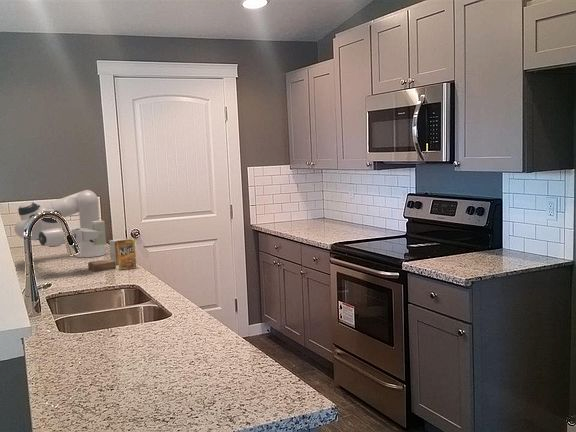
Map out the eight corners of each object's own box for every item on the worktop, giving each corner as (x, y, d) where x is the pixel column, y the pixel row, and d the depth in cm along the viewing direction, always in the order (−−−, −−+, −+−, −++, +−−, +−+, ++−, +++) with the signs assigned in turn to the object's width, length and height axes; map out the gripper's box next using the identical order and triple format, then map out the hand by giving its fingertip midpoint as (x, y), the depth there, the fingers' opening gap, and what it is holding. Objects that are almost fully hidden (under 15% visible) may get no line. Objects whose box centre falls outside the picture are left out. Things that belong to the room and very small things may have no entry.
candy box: (119, 270, 304) (116, 240, 302) (118, 268, 308) (116, 239, 306) (136, 268, 307) (134, 239, 305) (136, 266, 311) (134, 238, 309)
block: (93, 244, 308) (91, 221, 307) (103, 243, 311) (101, 220, 310) (96, 245, 304) (94, 222, 303) (106, 244, 307) (104, 221, 306)
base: (88, 269, 310) (87, 261, 309) (108, 266, 316) (108, 258, 316) (95, 271, 302) (94, 264, 302) (115, 268, 309) (115, 260, 308)
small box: (116, 265, 318) (114, 241, 317) (110, 263, 323) (108, 240, 321) (129, 262, 324) (128, 239, 322) (124, 261, 328) (122, 238, 327)
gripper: (68, 239, 308) (94, 235, 316) (80, 243, 292) (108, 239, 300) (67, 227, 307) (93, 224, 315) (79, 230, 291) (107, 227, 299)
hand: (100, 231), depth 308 cm, fingers closed on block, 4 cm apart
